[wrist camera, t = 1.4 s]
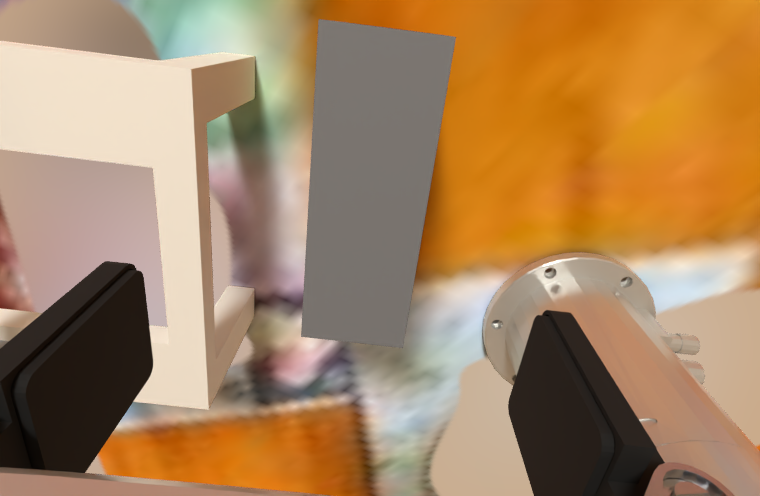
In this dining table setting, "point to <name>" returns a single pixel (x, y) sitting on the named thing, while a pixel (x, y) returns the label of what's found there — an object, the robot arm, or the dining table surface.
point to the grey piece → (370, 177)
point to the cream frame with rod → (171, 180)
